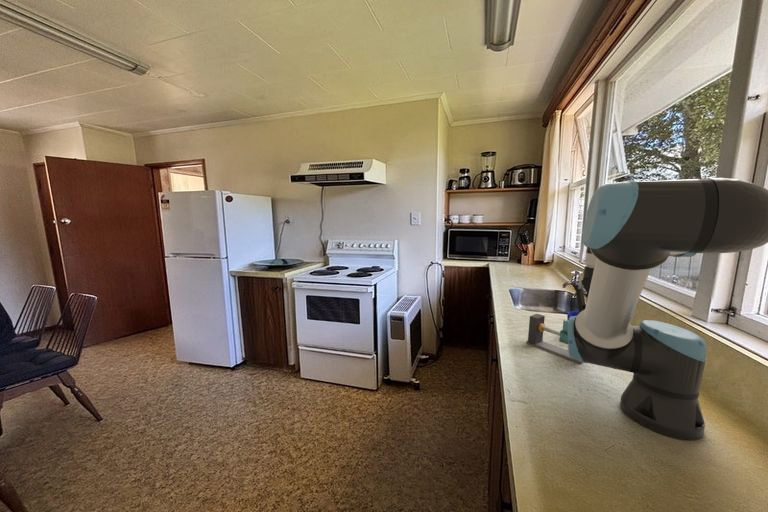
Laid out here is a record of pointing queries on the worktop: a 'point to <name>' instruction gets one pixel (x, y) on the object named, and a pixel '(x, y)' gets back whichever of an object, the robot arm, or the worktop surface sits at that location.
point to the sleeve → (564, 332)
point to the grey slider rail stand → (537, 337)
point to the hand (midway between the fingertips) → (590, 336)
